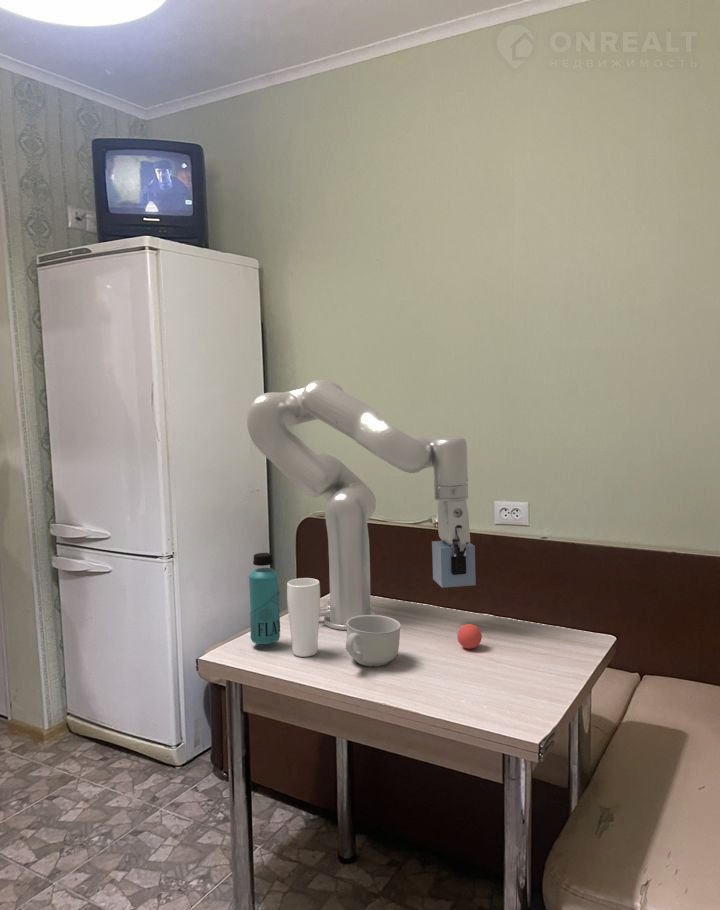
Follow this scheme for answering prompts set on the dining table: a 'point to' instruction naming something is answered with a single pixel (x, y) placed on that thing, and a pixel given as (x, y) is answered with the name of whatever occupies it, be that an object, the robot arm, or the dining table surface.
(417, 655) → the dining table surface
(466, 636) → the ball
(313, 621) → the drinking glass
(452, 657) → the dining table surface
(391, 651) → the teacup
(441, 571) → the pale blue cube
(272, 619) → the beverage bottle
